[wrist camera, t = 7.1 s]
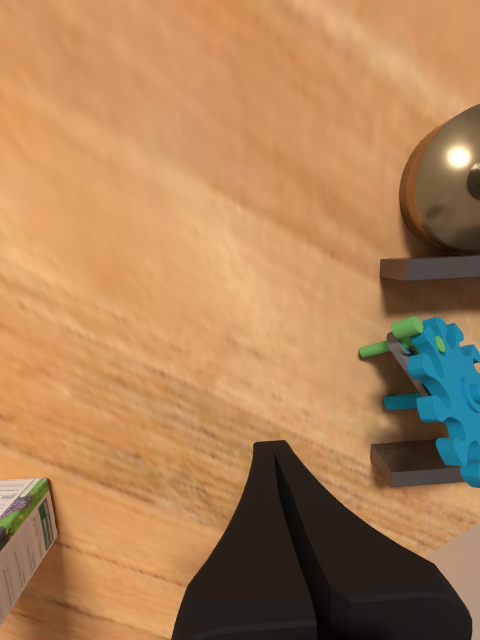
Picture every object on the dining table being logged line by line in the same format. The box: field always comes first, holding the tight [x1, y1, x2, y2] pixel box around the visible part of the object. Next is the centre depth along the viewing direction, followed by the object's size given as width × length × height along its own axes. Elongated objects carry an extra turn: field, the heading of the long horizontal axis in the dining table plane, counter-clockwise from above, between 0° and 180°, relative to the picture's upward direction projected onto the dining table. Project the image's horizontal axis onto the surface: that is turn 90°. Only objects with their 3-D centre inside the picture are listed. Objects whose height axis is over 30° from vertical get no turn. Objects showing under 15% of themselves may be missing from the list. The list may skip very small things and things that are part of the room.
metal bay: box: [370, 254, 480, 487], centre depth 20 cm, size 15×13×3 cm
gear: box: [360, 316, 480, 488], centre depth 19 cm, size 11×6×10 cm
